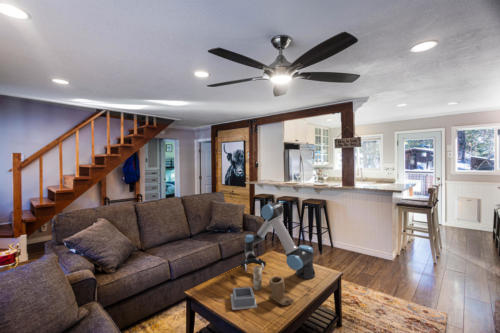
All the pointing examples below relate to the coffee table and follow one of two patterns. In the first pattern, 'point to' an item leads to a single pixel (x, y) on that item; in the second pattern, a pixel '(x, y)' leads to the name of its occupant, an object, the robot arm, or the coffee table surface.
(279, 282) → the tan boot
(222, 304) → the coffee table surface
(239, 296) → the well
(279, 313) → the coffee table surface
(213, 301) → the coffee table surface
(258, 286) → the peg
